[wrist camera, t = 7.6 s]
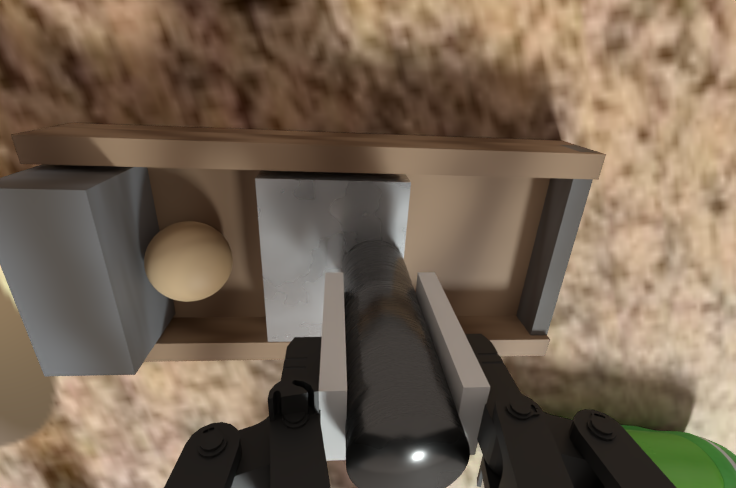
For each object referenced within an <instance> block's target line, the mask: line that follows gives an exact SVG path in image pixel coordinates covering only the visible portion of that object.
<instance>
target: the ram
mask: <svg viewBox="0 0 736 488" xmlns="http://www.w3.org/2000/svg"><path fill="white" fill-rule="evenodd" d="M255 183H256V196H257V209H258V222H259V235H260V247H261V260H262V273H263V286H264V299H265V311H266V324H267V337H268V342H291V341H292V340H293V339H294V337H322V322H323V304H324V286H325V272H343V280H344V310H345V340H346V370H347V419H346V425H345V438H346V469H347V473H348V475H349V477H350V479H351V481H352V482H353V483H354V484H355V485H356V486H357V487H358V488H446V487H447V486H449V485H450V484H452V483H453V482H454V481H455V480H456V479H457V478H458V477H459V476H460V475H461V474H462V472H463V471H464V470H465V468H466V466H467V464H468V461H469V456H470V447H469V443H468V440H467V437H466V435H465V432H464V429H463V426H462V423H461V420H460V418H459V415H458V412H457V409H456V406H455V403H454V400H453V398H452V395H451V392H450V389H449V386H448V383H447V381H446V378H445V375H444V372H443V369H442V366H441V364H440V361H439V358H438V355H437V352H436V349H435V347H434V344H433V341H432V338H431V335H430V332H429V329H428V327H427V324H426V321H425V318H424V315H423V312H422V310H421V307H420V304H419V301H418V298H417V295H416V293H415V290H414V287H413V284H412V281H411V278H410V276H409V273H408V270H407V267H406V264H405V261H404V251H405V240H406V230H407V219H408V209H409V198H410V187H411V182H410V180H409V179H408V177H407V176H406V174H379V173H342V172H305V171H269V170H261V171H260V173H259V174H258V175H257V177H256V178H255Z"/></svg>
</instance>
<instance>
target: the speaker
mask: <svg viewBox="0 0 736 488" xmlns="http://www.w3.org/2000/svg"><path fill="white" fill-rule="evenodd" d="M621 426H622V427H623V428H624V429H625V430H626V431H627V432H628V434H629V435H630V436H631V437H632V438H633V439H634V440H635V441H636V443H637V444H638V445H639V446H640V447H641V448H642V449H643V450H644V452H645V453H646V454H647V455H648V456H649V457H650V458H651V459H652V461H653V462H654V463H655V464H656V465H657V466H658V467H659V468H660V470H661V471H662V472H663V473H664V474H665V475H666V476H667V477H668V479H669V480H670V481H671V482H672V483H673V484H674V485H675V486H676V488H736V455H734V454H733V453H732V452H731V451H729V450H728V449H726V448H725V447H723V446H721V445H719V444H717V443H715V442H712V441H710V440H707V439H705V438H702V437H699V436H695V435H693V434H689V433H685V432H680V431H656V430H650V429H646V428H642V427H637V426H629V425H621Z"/></svg>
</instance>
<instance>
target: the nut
mask: <svg viewBox="0 0 736 488" xmlns="http://www.w3.org/2000/svg"><path fill="white" fill-rule="evenodd" d="M232 265H233V257H232V251H231V248H230V246H229V244H228V242H227V240H226V239H225V238H224V236H223V235H222V234H221V233H220V232H219V231H217V230H216V229H215V228H213V227H211V226H209V225H207V224H204V223H200V222H195V221H184V222H178V223H174V224H172V225H169V226H167V227H165V228H164V229H162V230H161V231H159V232H158V233H157V234H156V235H155V236H154V237H153V239H152V240H151V241H150V243H149V245H148V247H147V249H146V252H145V257H144V268H145V272H146V275H147V278H148V280H149V281H150V283H151V284H152V285H153V287H154V288H155V289H156V290H157V291H158V292H160V293H161V294H163V295H164V296H166V297H168V298H171V299H174V300H178V301H186V302H189V301H198V300H202V299H205V298H207V297H209V296H211V295H213V294H214V293H216V292H217V291H218V290H219V289H221V288H222V286H223V285H224V284H225V283H226V281H227V280H228V278H229V276H230V273H231V270H232Z"/></svg>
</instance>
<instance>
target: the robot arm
mask: <svg viewBox="0 0 736 488" xmlns="http://www.w3.org/2000/svg"><path fill="white" fill-rule="evenodd" d="M416 295H417V298H418V301H419V304H420V307H421V310H422V312H423V315H424V318H425V321H426V324H427V327H428V329H429V332H430V335H431V338H432V341H433V344H434V347H435V349H436V352H437V355H438V358H439V361H440V364H441V366H442V369H443V372H444V375H445V378H446V381H447V383H448V386H449V389H450V392H451V395H452V398H453V400H454V403H455V406H456V409H457V412H458V415H459V418H460V420H461V423H462V426H463V429H464V432H465V435H466V437H467V440H468V443H469V447H470V455H474V454H475V452H476V448H477V444H478V443H479V445H480V448H481V451H482V453H483V457H482V461H481V465H480V469H479V473H478V477H477V486H479V487H481V483H482V479H483V482H484V487H485V488H676V486H675V485H674V484H673V483H672V482H671V481H670V480H669V479H668V477H667V476H666V475H665V474H664V473H663V472H662V471H661V470H660V468H659V467H658V466H657V465H656V464H655V463H654V462H653V461H652V459H651V458H650V457H649V456H648V455H647V454H646V453H645V452H644V450H643V449H642V448H641V447H640V446H639V445H638V444H637V443H636V441H635V440H634V439H633V438H632V437H631V436H630V435H629V434H628V432H627V431H626V430H625V429H624V428H623V427H622V426H621V425H620V424H619V423H618V422H617V421H615V420H614V419H613V418H611V417H609V416H608V415H606V414H604V413H601V412H598V411H595V410H582V411H579V412H577V414H576V415H575V416H574V419H573V420H571V419H566V418H562V417H558V416H554V415H550V414H547V413H544V412H542V410H541V408H540V407H539V405H538V404H536V403H535V402H534V401H533V400H532V399H530V398H528V397H526V396H524V395H522V394H521V393H520V391H519V389H518V387H517V386H516V384H515V382H514V380H513V379H512V377H511V375H510V373H509V372H508V370H507V368H506V366H505V365H504V364H503V361H502V359H501V358H500V356H499V355H498V352H497V351H496V349H495V347H494V345H493V343H492V342H491V341H490V340H488V339H487V338H486V337H485V336H484V335H482V334H465V333H464V331H463V329H462V327H461V325H460V323H459V321H458V319H457V317H456V315H455V313H454V311H453V309H452V307H451V305H450V302H449V300H448V298H447V296H446V294H445V292H444V290H443V288H442V286H441V284H440V282H439V280H438V278H437V276H436V274H435V272H418V274H417V283H416ZM268 407H269V416H268V417H267V418H266V419H265V420H264V421H262V422H260V423H259V424H256V425H254V426H251V427H248V428H245V429H242V430H237V429H236V428H235V427H234V426H232V425H231V424H227V423H223V422H220V423H212V424H209V425H207V426H205V427H202V428H200V429H199V430H198V431H197V432H195V433H194V434H193V435H192V436H191V437H190V439H189V440H188V441H187V443H186V444H185V446H184V448H183V451H182V453H181V455H180V457H179V459H178V461H177V463H176V465H175V467H174V469H173V471H172V473H171V475H170V477H169V479H168V481H167V483H166V485H165V487H164V488H330V482H329V476H328V469H327V462H326V461H331V460H345V459H346V438H345V425H346V419H347V370H346V340H345V310H344V280H343V272H325V286H324V304H323V322H322V337H294V339H293V340H292V341H291V342H290V344H289V345H288V346H287V349H286V355H285V360H284V366H283V372H282V377H281V381H280V382H278V383H277V384H275V385H274V387H273V388H272V389H271V390H270V392H269V396H268Z"/></svg>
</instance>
